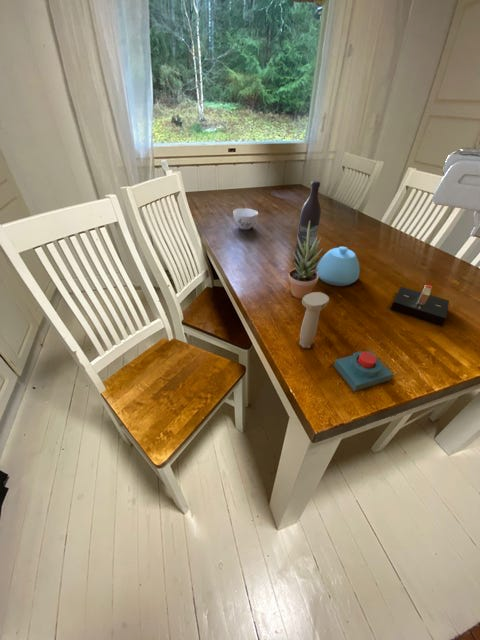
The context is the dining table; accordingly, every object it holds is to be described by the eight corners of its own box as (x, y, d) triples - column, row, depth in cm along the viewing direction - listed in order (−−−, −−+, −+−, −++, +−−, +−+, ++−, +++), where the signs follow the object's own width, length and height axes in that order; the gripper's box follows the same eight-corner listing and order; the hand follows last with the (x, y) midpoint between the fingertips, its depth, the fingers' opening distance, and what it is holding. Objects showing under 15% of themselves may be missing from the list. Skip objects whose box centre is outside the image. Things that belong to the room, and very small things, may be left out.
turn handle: (423, 306, 82) (429, 294, 79) (416, 304, 82) (423, 292, 80) (426, 297, 86) (432, 285, 83) (419, 295, 86) (425, 284, 84)
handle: (320, 345, 72) (333, 299, 63) (302, 355, 70) (313, 308, 60) (307, 335, 76) (318, 289, 66) (290, 344, 73) (298, 297, 63)
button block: (367, 356, 70) (372, 345, 67) (390, 380, 64) (396, 368, 61) (333, 365, 67) (337, 354, 64) (354, 391, 61) (359, 380, 59)
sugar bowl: (330, 264, 109) (336, 235, 102) (364, 278, 100) (374, 248, 93) (307, 276, 101) (312, 246, 94) (342, 292, 93) (351, 262, 85)
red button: (366, 355, 65) (369, 350, 64) (377, 366, 62) (379, 361, 61) (354, 359, 64) (356, 353, 63) (364, 370, 61) (366, 365, 60)
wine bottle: (291, 265, 108) (303, 182, 89) (296, 257, 113) (308, 178, 94) (308, 268, 106) (324, 184, 87) (312, 261, 111) (328, 180, 92)
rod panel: (444, 308, 86) (449, 300, 84) (441, 326, 79) (446, 317, 77) (397, 293, 93) (400, 286, 91) (390, 309, 86) (393, 301, 84)
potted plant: (291, 283, 97) (302, 212, 82) (317, 290, 94) (334, 217, 78) (281, 297, 90) (291, 222, 75) (309, 305, 87) (325, 228, 71)
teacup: (253, 233, 133) (254, 217, 128) (229, 230, 136) (229, 214, 131) (261, 223, 145) (262, 207, 140) (239, 220, 148) (239, 205, 142)
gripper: (450, 148, 45) (416, 229, 54) (628, 161, 36) (552, 257, 45) (453, 144, 49) (420, 221, 58) (613, 155, 40) (547, 244, 49)
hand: (479, 236), depth 51 cm, fingers closed
